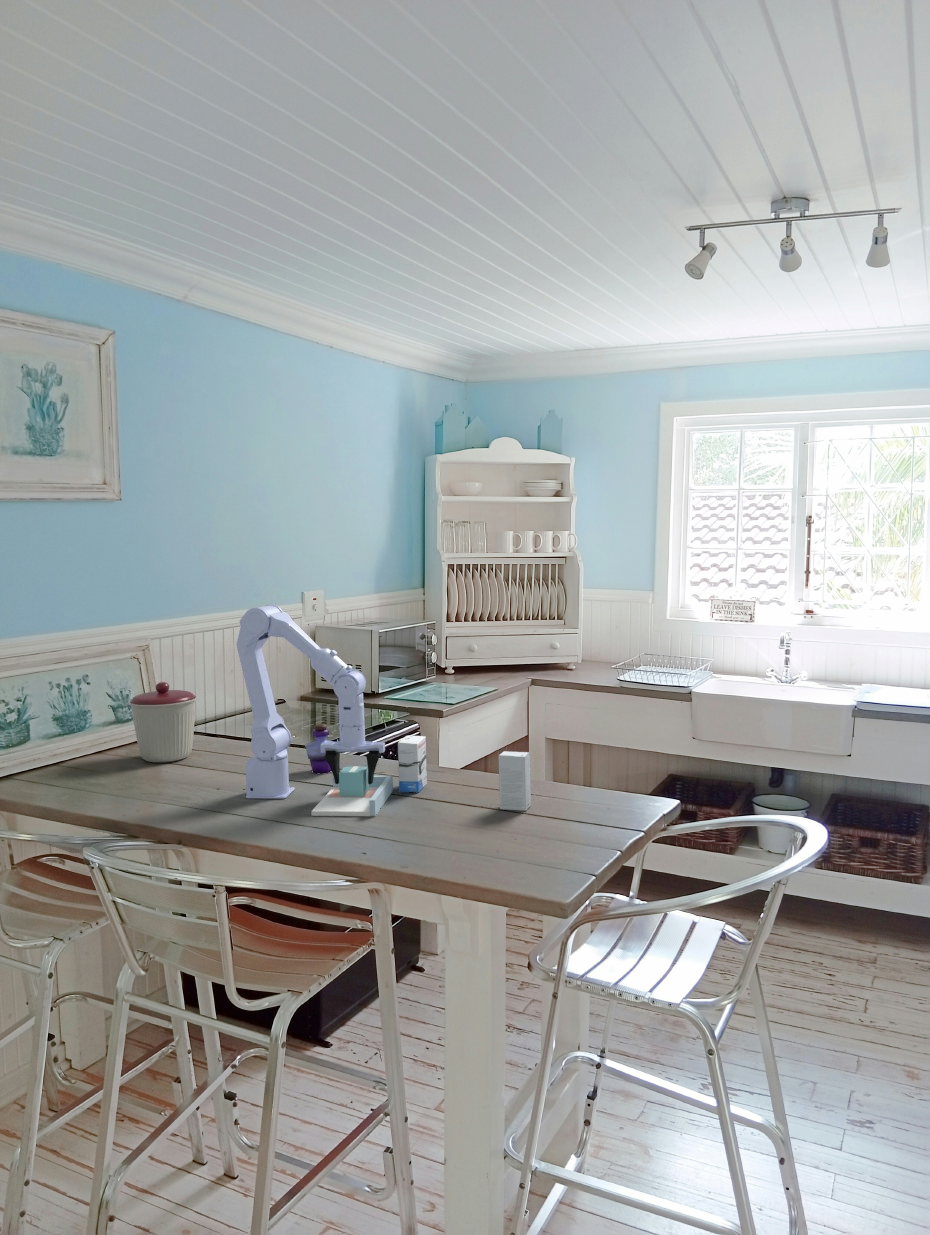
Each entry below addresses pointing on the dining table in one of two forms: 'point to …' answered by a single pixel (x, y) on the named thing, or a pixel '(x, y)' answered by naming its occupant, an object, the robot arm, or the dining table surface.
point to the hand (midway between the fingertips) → (354, 783)
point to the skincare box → (514, 780)
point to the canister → (164, 723)
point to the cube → (353, 781)
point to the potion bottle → (318, 750)
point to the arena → (356, 800)
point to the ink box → (412, 763)
